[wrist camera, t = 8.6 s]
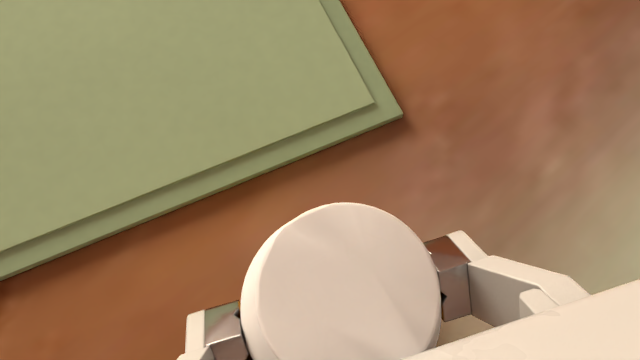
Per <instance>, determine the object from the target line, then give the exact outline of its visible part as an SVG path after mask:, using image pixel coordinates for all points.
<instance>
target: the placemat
mask: <svg viewBox="0 0 640 360" xmlns="http://www.w3.org/2000/svg"><path fill="white" fill-rule="evenodd" d="M402 116H403V112H402V110H401V109H400V107H399V105H398V103H397V102H396V100H395V98H394V96H393V95H392V93H391V91H390V89H389V87H388V86H387V84H386V82H385V80H384V79H383V77H382V75H381V73H380V72H379V70H378V68H377V66H376V64H375V63H374V61H373V59H372V57H371V56H370V54H369V52H368V50H367V49H366V47H365V45H364V43H363V41H362V40H361V38H360V36H359V34H358V33H357V31H356V29H355V27H354V26H353V24H352V22H351V20H350V18H349V17H348V15H347V13H346V11H345V10H344V8H343V6H342V4H341V3H340V1H339V0H0V281H2V280H4V279H7V278H9V277H12V276H14V275H17V274H19V273H21V272H24V271H26V270H29V269H31V268H34V267H36V266H39V265H41V264H44V263H46V262H48V261H51V260H53V259H56V258H58V257H61V256H63V255H66V254H68V253H71V252H73V251H75V250H78V249H80V248H83V247H85V246H88V245H90V244H93V243H95V242H98V241H100V240H102V239H105V238H107V237H110V236H112V235H115V234H117V233H120V232H122V231H125V230H127V229H129V228H132V227H134V226H137V225H139V224H142V223H144V222H147V221H149V220H152V219H154V218H156V217H159V216H161V215H164V214H166V213H169V212H171V211H174V210H176V209H179V208H181V207H183V206H186V205H188V204H191V203H193V202H196V201H198V200H201V199H203V198H206V197H208V196H210V195H213V194H215V193H218V192H220V191H223V190H225V189H228V188H230V187H233V186H235V185H237V184H240V183H242V182H245V181H247V180H250V179H252V178H255V177H257V176H260V175H262V174H264V173H267V172H269V171H272V170H274V169H277V168H279V167H282V166H284V165H287V164H289V163H291V162H294V161H296V160H299V159H301V158H304V157H306V156H309V155H311V154H314V153H316V152H318V151H321V150H323V149H326V148H328V147H331V146H333V145H336V144H338V143H341V142H343V141H345V140H348V139H350V138H353V137H355V136H358V135H360V134H363V133H365V132H367V131H370V130H372V129H375V128H377V127H380V126H382V125H385V124H387V123H390V122H392V121H394V120H397V119H399V118H402Z"/></svg>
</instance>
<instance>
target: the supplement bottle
mask: <svg viewBox="0 0 640 360" xmlns="http://www.w3.org/2000/svg"><path fill="white" fill-rule="evenodd" d="M240 315H241V325H242V330H243V335H244V338H245V342H246V345H247V348H248V350H249V353H250V355H251V357H252V359H253V360H400V359H403V358H406V357H409V356H412V355H415V354H418V353H421V352H424V351H427V350H430V349H433V348H435V347H436V344H437V341H438V337H439V333H440V326H441V295H440V285H439V279H438V275H437V271H436V268H435V265H434V263H433V260H432V258H431V256H430V254H429V252H428V250H427V249H426V247H425V246H424V244H423V243H422V241H421V240H420V239H419V237H418V236H417V235H416V234H415V233H414V232H413V231H412V230H411V229H410V228H409V227H408V226H407V225H406V224H404V223H403V222H402V221H401V220H399V219H398V218H396V217H395V216H393V215H391V214H389V213H387V212H385V211H383V210H381V209H378V208H376V207H372V206H368V205H364V204H358V203H333V204H327V205H323V206H320V207H317V208H314V209H311V210H309V211H306V212H305V213H303V214H301V215H299V216H298V217H296V218H295V219H293V220H292V221H290V222H288V223H287V224H285V225H284V226H282V227H281V228H280V229H278V230H277V231H276V232H275V233H274V234H272V235H271V236H270V237H269V238H268V239H267V241H266V242H265V243H264V244H263V245H262V247H261V248H260V249H259V251H258V252H257V254H256V256H255V257H254V259H253V261H252V263H251V265H250V267H249V269H248V271H247V274H246V277H245V280H244V284H243V289H242V294H241V306H240Z"/></svg>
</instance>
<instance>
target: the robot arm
mask: <svg viewBox="0 0 640 360" xmlns="http://www.w3.org/2000/svg"><path fill="white" fill-rule="evenodd" d="M423 244H424V246H425V247H426V249H427V250H428V252H429V254H430V256H431V258H432V260H433V263H434V265H435V268H436V271H437V275H438V279H439V285H440V295H441V318H442V319H443V320H444V322H447V321H451V320H454V319H457V318H461V317H464V316H467V315H470V314H472V315H473V316H475V317H476V318H478V319H480V320H482V321H484V322H486V323H488V324H490V325H492V326H494V327H495V328H492V329H489V330H486V331H483V332H480V333H477V334H474V335H471V336H468V337H465V338H463V339H460V340H457V341H454V342H451V343H448V344H445V345H442V346H439V347H436V348H433V349H430V350H427V351H424V352H421V353H418V354H415V355H412V356H409V357H406V358H403V359H400V360H640V279H638V280H635V281H632V282H629V283H626V284H623V285H620V286H617V287H614V288H611V289H608V290H605V291H602V292H599V293H596V294H593V295H590V294H589V293H588V292H587V291H586V290H584V289H583V288H582V287H581V286H580V285H579V284H577V283H576V282H575V281H574V280H573V279H572V278H570V277H569V276H567V275H563V274H559V273H556V272H552V271H549V270H545V269H541V268H538V267H534V266H530V265H527V264H523V263H519V262H516V261H512V260H509V259H505V258H501V257H498V256H494V255H493V256H488V255H487V254H486V253H485V252H484V251H483V250H482V249H481V248H480V247H479V246H478V245H477V244H476V243H475V242H474V241H473V240H472V239H471V238H470V237H469V236H468V235H467V234H466V233H465V232H464V231H462V230H459V231H456V232H453V233H450V234H447V235H445V236H443V237H440V238H437V239H433V240H430V241H427V242H424V243H423ZM240 306H241V303H240V301H239V300H236V301H233V302H229V303H226V304H222V305H219V306H215V307H212V308H208V309H206V310H202V311H199V312H195V313H192V314H189V315H188V317H187V324H186V344H185V354H182V355H180V356H179V357H178V359H177V360H253V359H252V357H251V355H250V353H249V350H248V348H247V345H246V342H245V338H244V335H243V330H242V325H241V315H240Z"/></svg>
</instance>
